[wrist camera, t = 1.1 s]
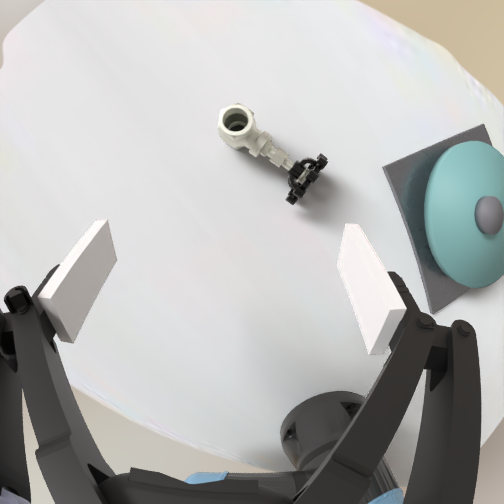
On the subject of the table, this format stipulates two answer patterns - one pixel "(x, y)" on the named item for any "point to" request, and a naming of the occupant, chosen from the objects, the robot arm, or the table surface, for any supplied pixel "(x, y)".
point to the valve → (267, 149)
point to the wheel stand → (412, 210)
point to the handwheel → (467, 213)
